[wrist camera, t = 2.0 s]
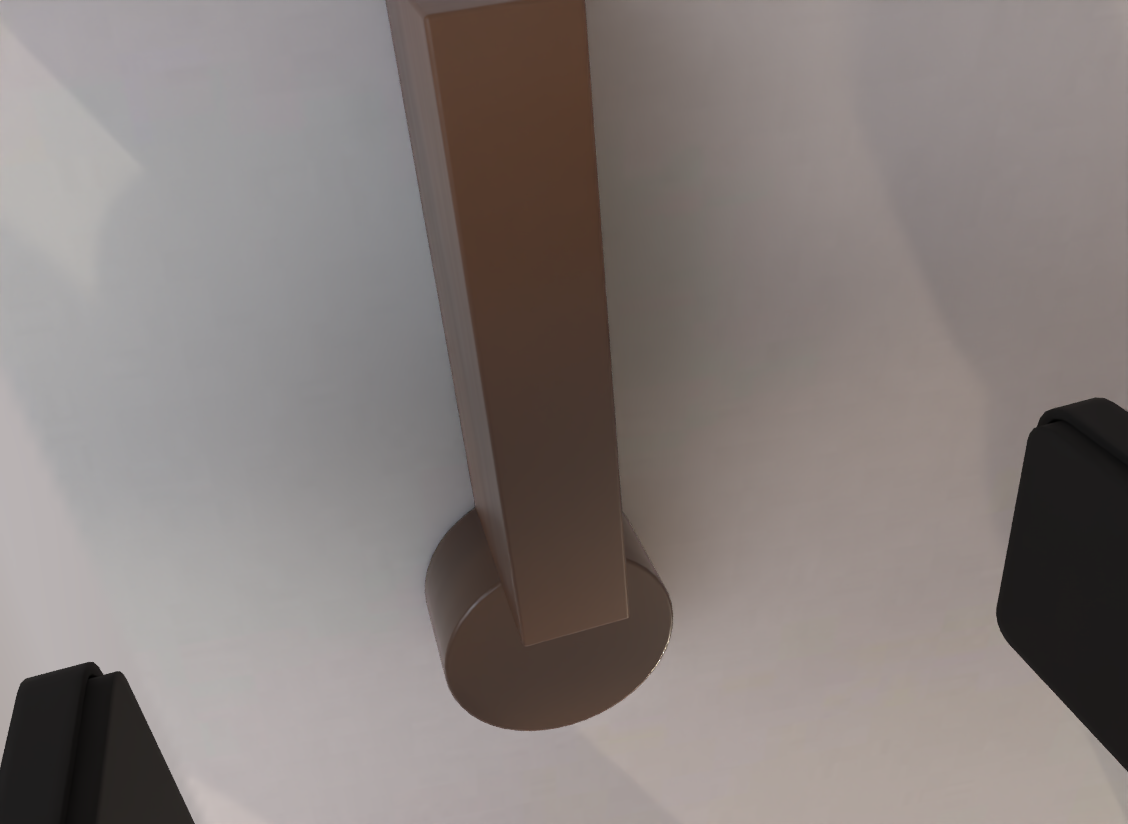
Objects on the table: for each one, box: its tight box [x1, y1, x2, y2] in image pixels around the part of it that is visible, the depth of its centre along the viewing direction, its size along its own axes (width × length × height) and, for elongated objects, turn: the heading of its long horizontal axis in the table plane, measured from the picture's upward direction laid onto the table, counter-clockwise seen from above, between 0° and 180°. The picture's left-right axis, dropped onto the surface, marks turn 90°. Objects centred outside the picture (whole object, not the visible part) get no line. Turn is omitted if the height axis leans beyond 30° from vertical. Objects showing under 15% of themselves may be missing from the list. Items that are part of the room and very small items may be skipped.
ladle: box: [386, 0, 673, 731], centre depth 13 cm, size 11×4×3 cm, turn 5°
